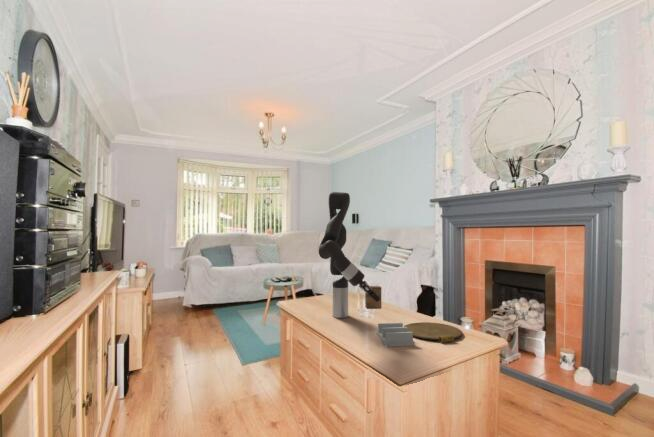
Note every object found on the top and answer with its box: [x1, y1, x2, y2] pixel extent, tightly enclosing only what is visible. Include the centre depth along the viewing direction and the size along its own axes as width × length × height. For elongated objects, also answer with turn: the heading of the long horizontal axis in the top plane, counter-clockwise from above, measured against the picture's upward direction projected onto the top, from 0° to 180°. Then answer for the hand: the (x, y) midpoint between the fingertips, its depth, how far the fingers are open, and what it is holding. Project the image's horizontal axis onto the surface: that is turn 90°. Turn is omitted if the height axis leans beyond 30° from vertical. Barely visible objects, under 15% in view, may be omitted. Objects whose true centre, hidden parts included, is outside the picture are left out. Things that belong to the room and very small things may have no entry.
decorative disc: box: [403, 321, 464, 344], centre depth 156 cm, size 29×3×30 cm
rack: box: [376, 322, 416, 348], centre depth 146 cm, size 16×13×6 cm
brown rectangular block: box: [364, 285, 382, 310], centre depth 149 cm, size 4×7×10 cm, turn 94°
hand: (377, 299), depth 150 cm, fingers closed on brown rectangular block, 3 cm apart
